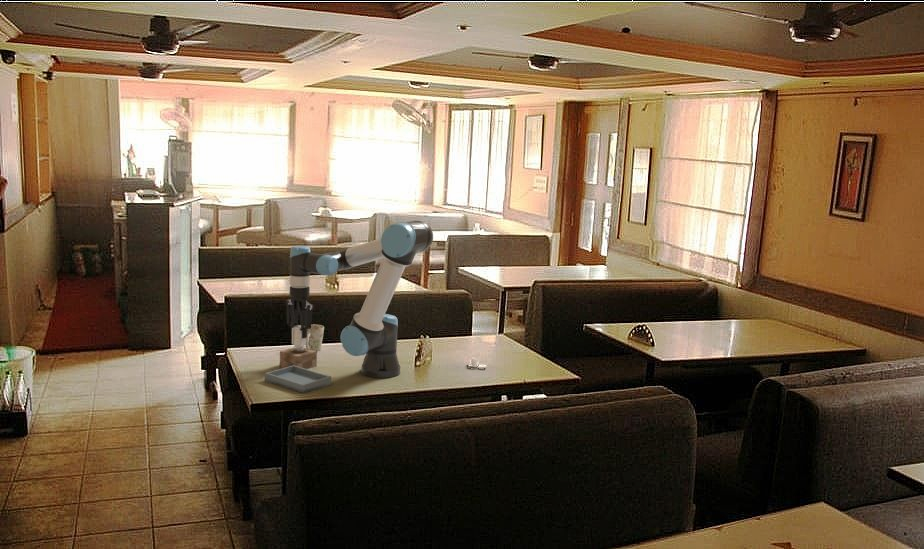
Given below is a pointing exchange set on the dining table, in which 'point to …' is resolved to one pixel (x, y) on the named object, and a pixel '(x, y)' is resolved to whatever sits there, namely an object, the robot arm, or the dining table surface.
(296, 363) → the wooden hollow square frame
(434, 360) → the dining table surface
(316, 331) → the mug
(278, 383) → the slate tray
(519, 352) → the dining table surface
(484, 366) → the teacup and saucer
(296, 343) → the steel pin
